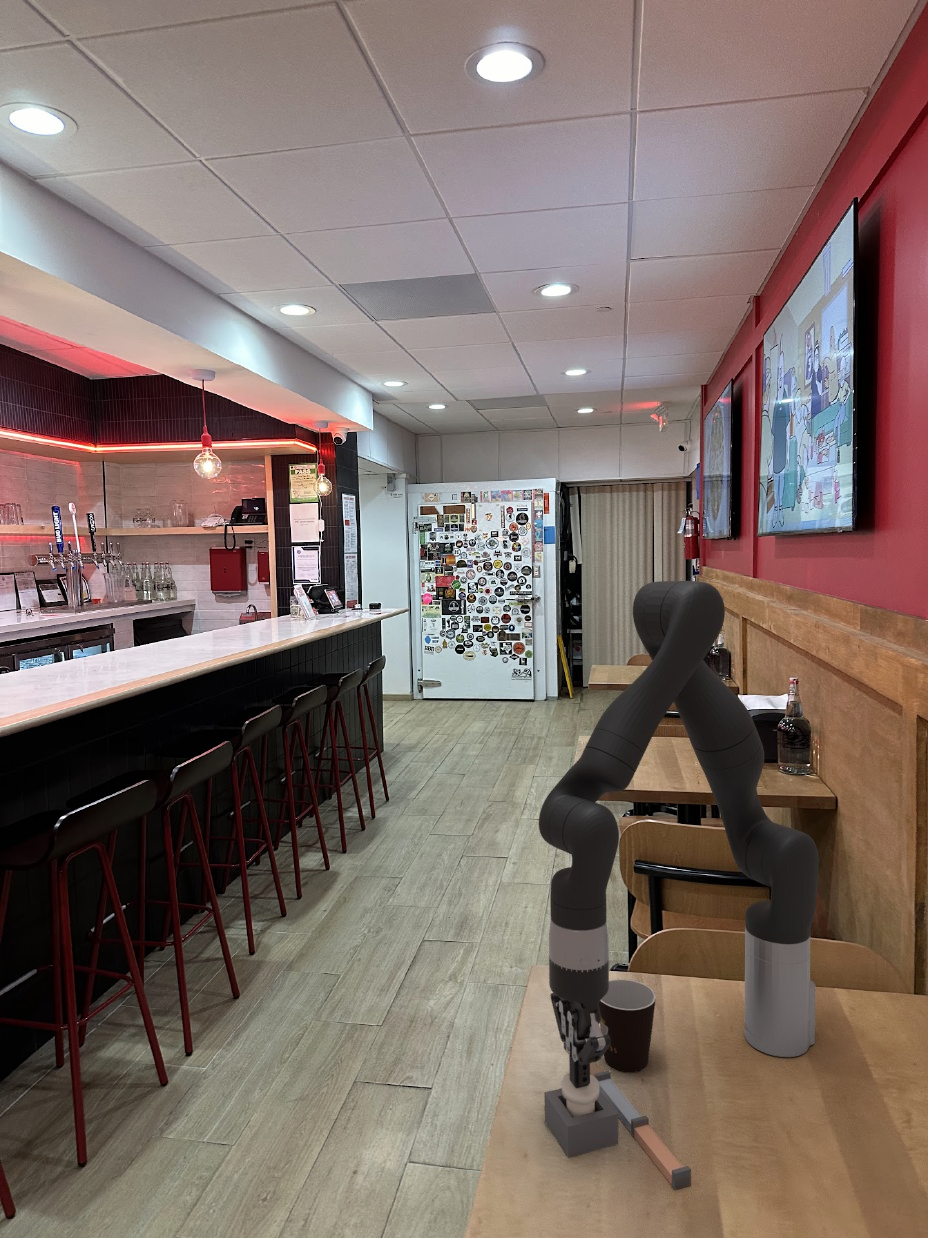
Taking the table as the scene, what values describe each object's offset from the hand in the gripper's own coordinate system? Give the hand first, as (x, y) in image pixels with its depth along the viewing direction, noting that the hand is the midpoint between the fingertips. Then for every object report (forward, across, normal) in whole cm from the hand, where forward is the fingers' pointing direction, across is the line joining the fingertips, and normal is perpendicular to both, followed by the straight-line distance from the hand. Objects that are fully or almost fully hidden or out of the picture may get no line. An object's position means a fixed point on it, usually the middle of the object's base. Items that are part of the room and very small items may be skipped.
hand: (579, 1083), depth 106 cm
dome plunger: (+6, 0, 0) cm, 6 cm away
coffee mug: (+7, +13, -14) cm, 20 cm away
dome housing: (+7, 0, 0) cm, 7 cm away
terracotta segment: (+7, -8, -7) cm, 12 cm away
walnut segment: (+7, +12, -7) cm, 16 cm away
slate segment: (+7, +2, -7) cm, 10 cm away
